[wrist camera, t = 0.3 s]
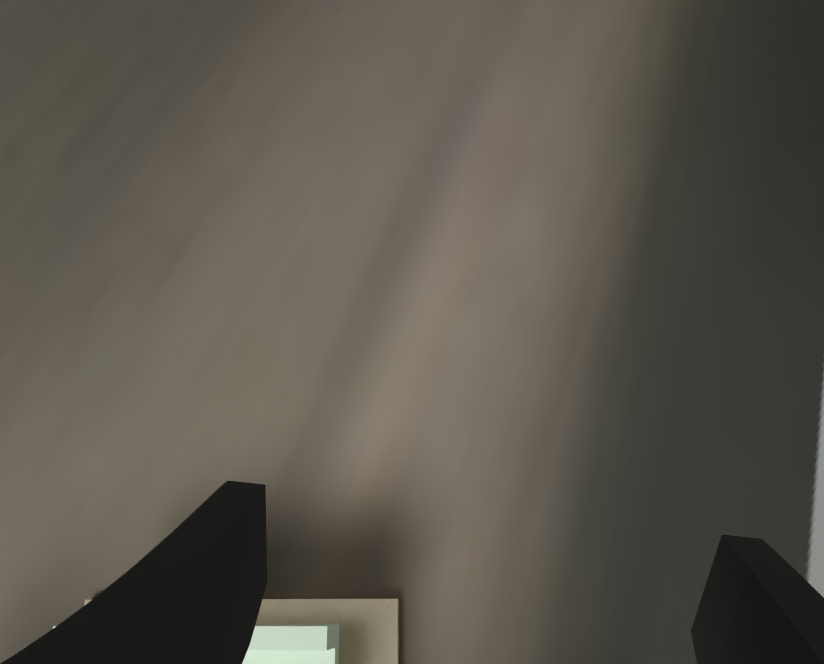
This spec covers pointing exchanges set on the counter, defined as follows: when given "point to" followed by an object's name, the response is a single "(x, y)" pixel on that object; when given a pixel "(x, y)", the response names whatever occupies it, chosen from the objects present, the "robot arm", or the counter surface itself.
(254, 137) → the counter surface
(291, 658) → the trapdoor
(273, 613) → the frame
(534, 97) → the counter surface
